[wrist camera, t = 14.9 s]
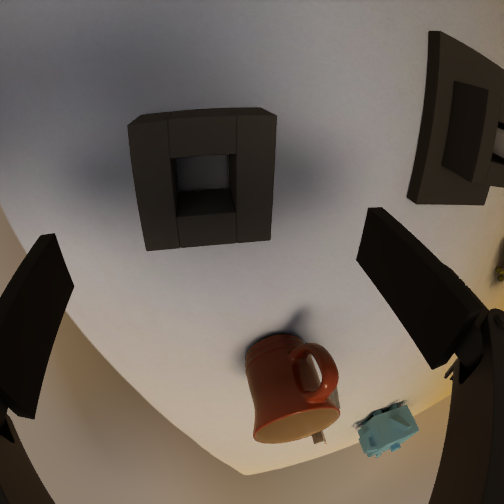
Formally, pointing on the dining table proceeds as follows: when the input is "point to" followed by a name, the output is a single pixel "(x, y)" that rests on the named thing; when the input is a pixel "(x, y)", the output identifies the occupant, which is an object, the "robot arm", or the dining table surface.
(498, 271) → the decorative flower
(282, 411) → the mug
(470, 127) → the dark block with hole
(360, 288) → the dining table surface
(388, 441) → the teapot
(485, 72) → the base pad
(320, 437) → the architectural model
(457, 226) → the dining table surface
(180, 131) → the grey square-holed block
